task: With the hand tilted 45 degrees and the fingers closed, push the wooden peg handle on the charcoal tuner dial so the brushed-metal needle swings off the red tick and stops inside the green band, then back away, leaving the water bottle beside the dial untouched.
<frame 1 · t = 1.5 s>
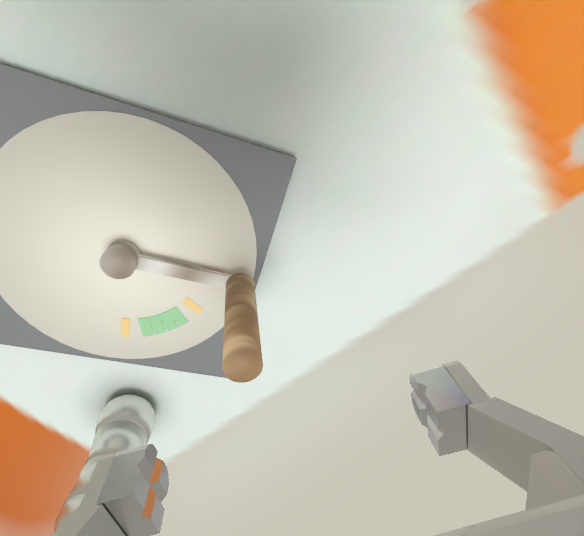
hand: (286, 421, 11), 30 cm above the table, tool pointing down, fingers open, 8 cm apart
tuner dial: (128, 248, 39), on the table
needle lever: (173, 302, 32), point 9 cm above the table, hinge at 0.0°
plastic bottle: (132, 405, 48), on the table
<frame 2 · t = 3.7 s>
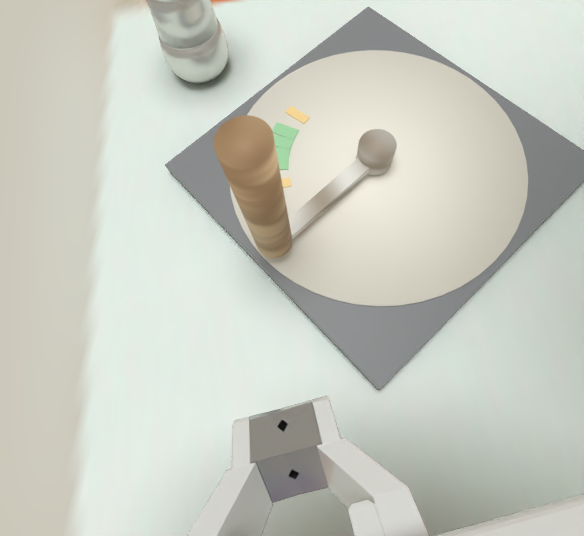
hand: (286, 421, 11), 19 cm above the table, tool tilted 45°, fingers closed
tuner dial: (371, 171, 35), on the table
needle lever: (328, 152, 26), point 9 cm above the table, hinge at 0.0°
plastic bottle: (203, 70, 41), on the table
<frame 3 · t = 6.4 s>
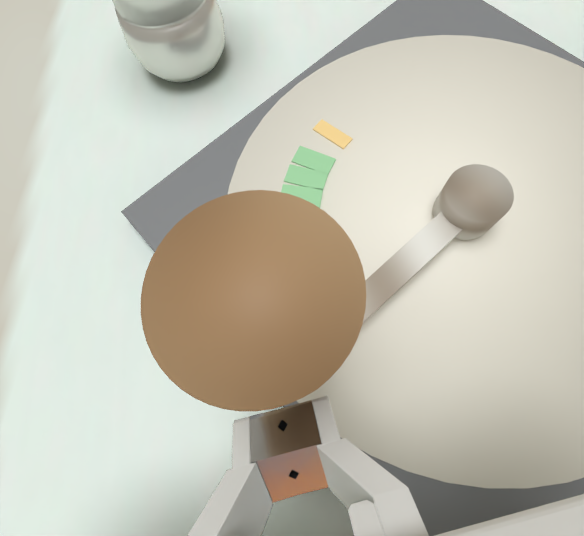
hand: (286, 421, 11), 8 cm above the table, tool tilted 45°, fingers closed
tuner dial: (451, 226, 22), on the table
needle lever: (422, 226, 13), point 9 cm above the table, hinge at -0.6°, touching gripper
plastic bottle: (188, 62, 28), on the table
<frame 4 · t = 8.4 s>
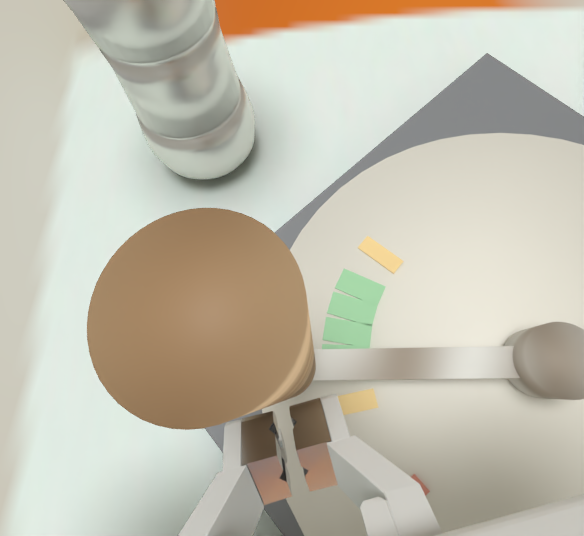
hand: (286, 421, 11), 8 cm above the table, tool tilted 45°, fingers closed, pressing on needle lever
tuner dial: (517, 365, 19), on the table
needle lever: (463, 350, 11), point 9 cm above the table, hinge at -41.3°, touching gripper
plastic bottle: (213, 152, 25), on the table
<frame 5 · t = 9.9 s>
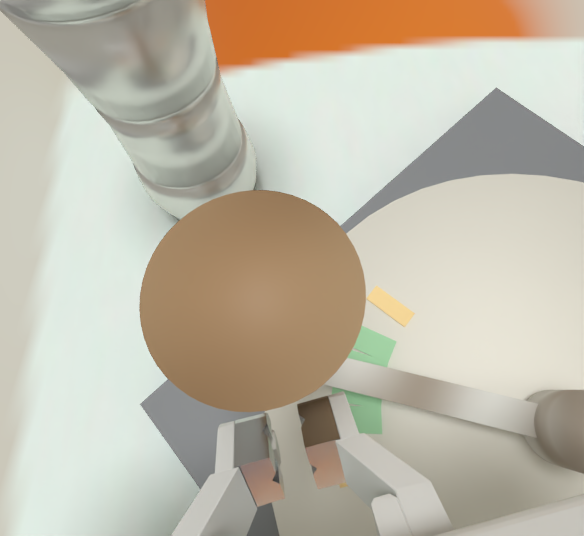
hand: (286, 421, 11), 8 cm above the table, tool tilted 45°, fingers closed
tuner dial: (535, 423, 18), on the table
needle lever: (490, 396, 11), point 9 cm above the table, hinge at -56.0°, touching gripper
plastic bottle: (212, 190, 24), on the table
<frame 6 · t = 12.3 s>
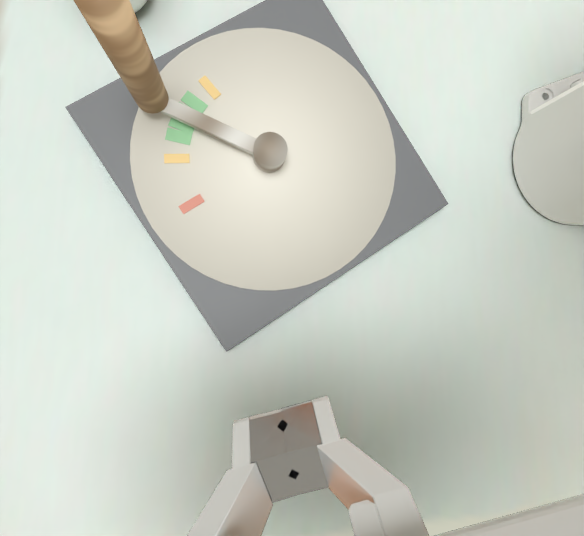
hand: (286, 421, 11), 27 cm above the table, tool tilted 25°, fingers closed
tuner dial: (268, 162, 39), on the table
needle lever: (205, 94, 29), point 9 cm above the table, hinge at -56.1°
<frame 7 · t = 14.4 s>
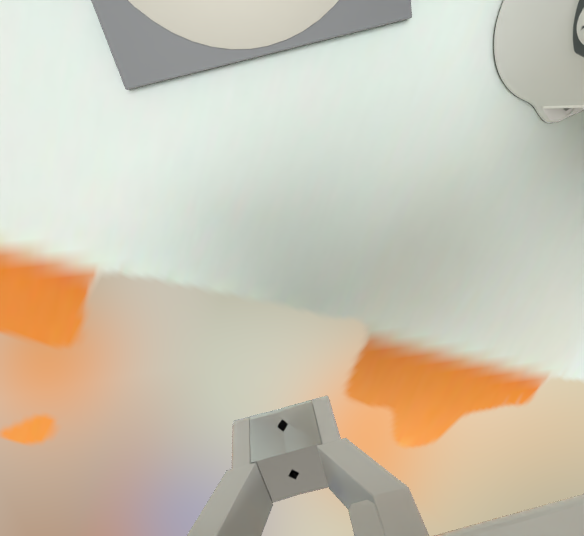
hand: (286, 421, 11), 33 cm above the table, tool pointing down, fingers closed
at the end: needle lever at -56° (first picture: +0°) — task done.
